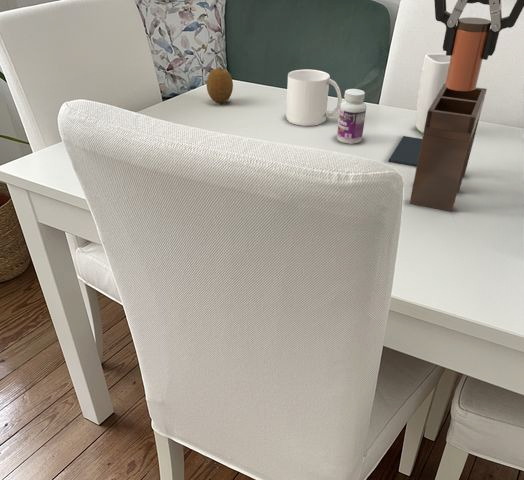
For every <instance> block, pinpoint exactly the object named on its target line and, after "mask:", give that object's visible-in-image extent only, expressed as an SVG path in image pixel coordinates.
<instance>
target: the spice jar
mask: <svg viewBox="0 0 524 480" xmlns="http://www.w3.org/2000/svg"><path fill="white" fill-rule="evenodd" d="M456 26H457V29H456V34H455V39H454V44H453V49H452V53H451V58H450V63H449V68H448V73H447V78H446V83H445V87H447V88H448V89H451V90H455V91H472V90H475V89H476V88H477V85H478V80H479V76H480V72H481V68H482V63H483V60H484V59H482V58H483V54H484V49H485V45H486V41H487V37H488V32H489V30H490V29H491V19H487V18H482V17H459V19H458V21H457V25H456Z"/></svg>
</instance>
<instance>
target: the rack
mask: <svg viewBox="0 0 524 480" xmlns="http://www.w3.org/2000/svg"><path fill="white" fill-rule="evenodd" d="M487 91H488V89H487V88H483V87H476V89H475V90H472V91H455V90H451V89H448V88H447V87H445V83H444V85H443V86H442V88H441V90H440V91H439V93H438V95H437V96H436V98H435V100H434V101H433V103H432V105H431V106H430V108H429V110H428V113H427V118H426V123H425V128H424V133H423V134H422V137H421V139H422V143H421V148H420V153H419V158H418V163H417V166H416V169H415V175H414V178H413V183H412V188H411V194H410V201H409V204H411V205H415V206H421V207H425V208H432V209H435V210H440V211H441V210H442V211H447V212H453V209H454V206H455V202H456V198H457V195H458V194H459V193H460V190H461V185H462V181H463V178H465V177H466V176H465V175H466V171H467V167H468V164H469V160H470V156H471V153H472V148H473V145H474V142H475V137H476V133H477V129H478V125H479V121H480V117H481V113H482V110H483V107H484V102H485V98H486V95H487Z"/></svg>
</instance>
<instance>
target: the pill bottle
mask: <svg viewBox="0 0 524 480" xmlns="http://www.w3.org/2000/svg"><path fill="white" fill-rule="evenodd" d="M365 97H366V91H364V90H363V89H358V88H348V89H346V90H345V91H344V100H342V103H341V105H340V109H339V111H338V122H337V133H336V138H337V140H338V141H339V142H341V143H343V144H348V145H352V144H358V143H360V142H362V140H363V135H364V127H365V120H366V114H367V113H366V112H367V104H366V103H365V102H364V101H365Z"/></svg>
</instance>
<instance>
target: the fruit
mask: <svg viewBox="0 0 524 480" xmlns="http://www.w3.org/2000/svg"><path fill="white" fill-rule="evenodd" d="M231 75H232V74H231V73H230V72H229V71H228V70H227V69H225V68H222V67H221V66H218V67H216V68H214V69H211V71H210V72H209V73H208V75H207V79H206V90H207V93H208V96H209V98H210V99H211V100H212V101H213V102H215V103H216V104H219V105H221V104H224V103H225V102H227V101H228V100H230V98H231V96H232V93H233V90H234V89H233V88H234V81H233V78H232V76H231Z"/></svg>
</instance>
